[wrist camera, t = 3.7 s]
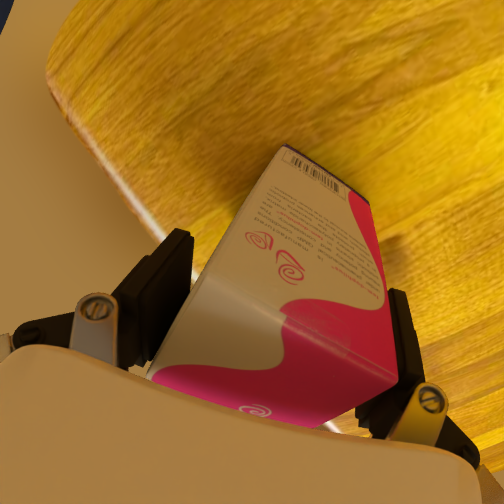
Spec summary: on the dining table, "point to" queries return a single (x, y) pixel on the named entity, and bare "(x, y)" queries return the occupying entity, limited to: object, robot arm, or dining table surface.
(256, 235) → the supplement box
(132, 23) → the dining table surface
